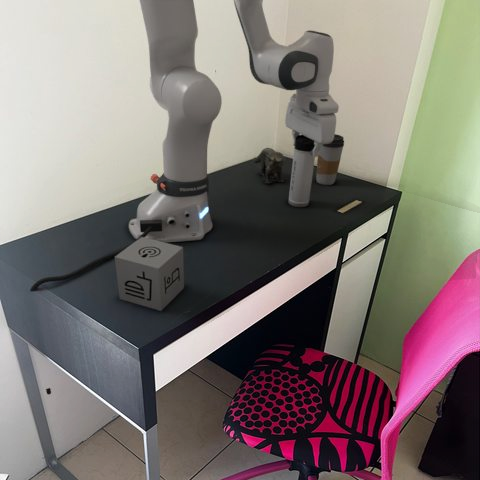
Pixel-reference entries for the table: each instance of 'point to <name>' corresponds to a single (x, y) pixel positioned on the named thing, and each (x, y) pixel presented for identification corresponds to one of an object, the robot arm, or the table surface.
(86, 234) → the table surface
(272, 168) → the toy dinosaur
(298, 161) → the travel mug
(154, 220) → the robot arm
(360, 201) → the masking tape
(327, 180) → the coffee cup
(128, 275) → the icon cube
